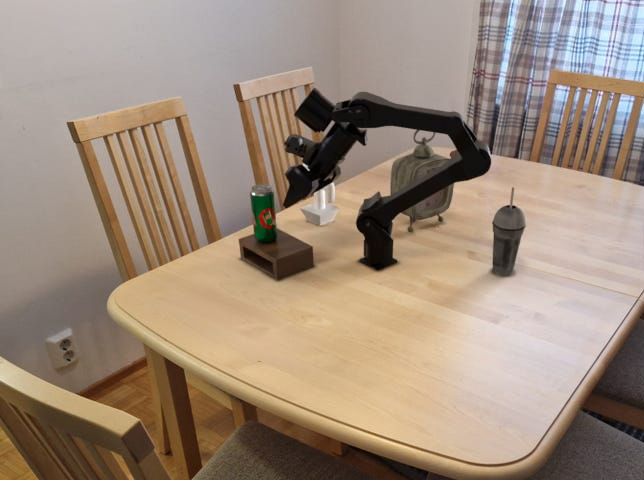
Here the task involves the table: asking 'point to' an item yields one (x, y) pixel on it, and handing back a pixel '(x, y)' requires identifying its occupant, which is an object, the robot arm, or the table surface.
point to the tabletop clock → (414, 169)
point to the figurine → (321, 206)
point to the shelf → (277, 255)
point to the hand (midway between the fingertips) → (293, 202)
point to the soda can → (263, 213)
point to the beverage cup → (507, 237)
